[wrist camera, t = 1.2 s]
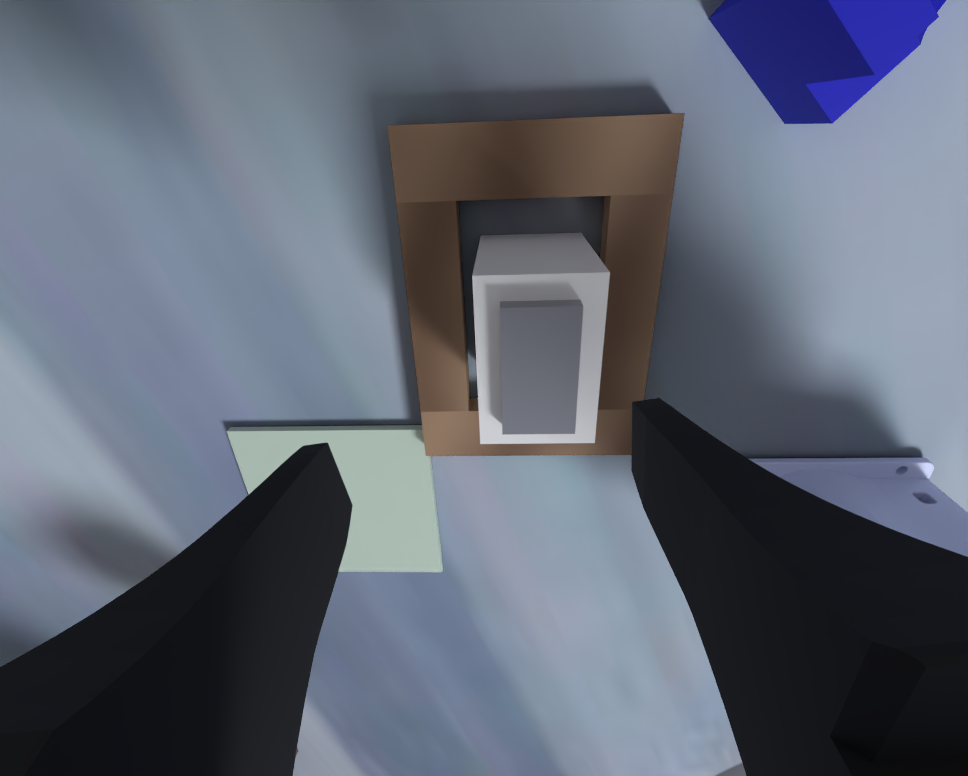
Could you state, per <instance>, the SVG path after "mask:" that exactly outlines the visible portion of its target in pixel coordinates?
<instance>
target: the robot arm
mask: <svg viewBox="0 0 968 776" xmlns="http://www.w3.org/2000/svg"><path fill="white" fill-rule="evenodd" d="M899 467H900V468H899ZM933 470H934V464H933V463H932V462H930V461H929V460H928V459H926V458H781V459H748V458H746V457H744V456H743V455H741V454H739V453H738V452H736V451H735V450H733V449H732V448H730V447H728V446H727V445H725V444H724V443H722V442H721V441H719V440H718V439H716V438H715V437H713V436H712V435H710V434H709V433H708V432H706V431H705V430H703V429H702V428H700V427H699V426H698V425H696V424H695V423H693V422H692V421H691V420H689V419H688V418H686V417H685V416H684V415H682V414H681V413H679V412H678V411H677V410H675V409H674V408H673V407H671V406H670V405H668V404H667V403H665V402H664V401H663V400H661V399H660V398H657V399H649V400H642V401H634V402H632V473H633V476H634V480H635V483H636V486H637V489H638V492H639V495H640V498H641V501H642V504H643V507H644V510H645V512H646V514H647V517H648V519H649V521H650V523H651V525H652V527H653V529H654V532H655V534H656V536H657V538H658V540H659V542H660V544H661V547H662V549H663V551H664V553H665V555H666V557H667V559H668V561H669V563H670V566H671V568H672V570H673V572H674V574H675V576H676V578H677V580H678V583H679V585H680V587H681V589H682V591H683V593H684V595H685V598H686V600H687V603H688V605H689V607H690V610H691V612H692V614H693V617H694V620H695V623H696V626H697V628H698V631H699V634H700V637H701V640H702V642H703V645H704V648H705V651H706V654H707V656H708V659H709V662H710V665H711V668H712V671H713V674H714V677H715V680H716V683H717V686H718V689H719V692H720V695H721V698H722V700H723V703H724V706H725V709H726V712H727V716H728V719H729V722H730V725H731V728H732V731H733V734H734V737H735V741H736V744H737V747H738V750H739V753H740V756H741V759H742V762H743V766H744V769H745V771H746V775H747V776H968V512H966V511H965V510H964V509H963V508H962V507H960V506H959V505H958V504H957V503H956V502H954V501H953V500H952V499H951V498H950V497H948V496H947V495H946V494H945V493H944V492H942V491H941V490H940V489H939V488H938V487H936V486H935V485H934V484H933V483H932V482H930V481H929V480H928V479H929V478H930V476H931V474H932V472H933ZM352 506H353V505H352V502H351V500H350V497H349V495H348V492H347V490H346V487H345V485H344V482H343V480H342V477H341V475H340V472H339V470H338V467H337V464H336V462H335V459H334V457H333V454H332V452H331V449H330V447H329V444H328V442H327V443H319V444H312V445H304V446H302V447H301V448H300V449H298V450H297V451H296V452H295V453H294V454H292V455H291V456H290V457H289V458H288V459H287V460H286V461H285V462H283V463H282V464H281V465H280V466H279V467H278V468H277V469H276V470H275V471H274V472H273V473H272V474H271V475H270V476H268V477H267V478H266V479H265V480H264V481H263V482H262V483H261V484H260V485H259V486H258V487H257V488H255V489H254V490H253V491H252V492H251V493H250V494H249V495H248V496H247V497H246V498H245V499H244V500H243V501H241V502H240V503H239V504H238V505H237V506H236V507H235V508H234V509H232V510H231V511H230V512H229V513H228V514H227V515H225V516H224V517H223V518H222V519H221V520H220V521H218V522H217V523H216V524H215V525H214V526H213V527H211V528H210V529H209V530H208V531H207V532H206V533H204V534H203V535H202V536H201V537H200V538H199V539H197V540H196V541H195V542H194V543H192V544H191V545H190V546H189V547H187V548H186V549H185V550H184V551H182V552H181V553H180V554H178V555H177V556H176V557H174V558H173V559H172V560H170V561H169V562H168V563H166V564H165V565H164V566H162V567H161V568H160V569H158V570H157V571H155V572H154V573H153V574H151V575H150V576H149V577H147V578H146V579H144V580H143V581H141V582H140V583H138V584H137V585H135V586H134V587H132V588H131V589H129V590H128V591H126V592H125V593H123V594H122V595H120V596H119V597H117V598H116V599H114V600H113V601H111V602H110V603H108V604H107V605H105V606H104V607H102V608H101V609H99V610H98V611H96V612H95V613H93V614H91V615H90V616H88V617H87V618H85V619H83V620H82V621H80V622H78V623H77V624H75V625H73V626H72V627H70V628H68V629H67V630H65V631H63V632H62V633H60V634H58V635H57V636H55V637H53V638H52V639H50V640H48V641H46V642H45V643H43V644H41V645H39V646H38V647H36V648H34V649H32V650H31V651H29V652H27V653H25V654H24V655H22V656H20V657H18V658H16V659H14V660H13V661H11V662H9V663H7V664H5V665H3V666H2V667H0V776H293V769H294V762H295V755H296V748H297V743H298V737H299V731H300V725H301V720H302V714H303V708H304V702H305V697H306V692H307V687H308V682H309V677H310V672H311V667H312V662H313V657H314V652H315V649H316V645H317V641H318V637H319V633H320V630H321V627H322V623H323V620H324V617H325V614H326V610H327V607H328V604H329V601H330V597H331V594H332V591H333V588H334V584H335V581H336V578H337V575H338V571H339V568H340V564H341V561H342V558H343V554H344V551H345V547H346V544H347V538H348V533H349V527H350V520H351V513H352Z"/></svg>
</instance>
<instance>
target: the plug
mask: <svg viewBox="0 0 968 776" xmlns="http://www.w3.org/2000/svg"><path fill="white" fill-rule="evenodd" d="M609 278H610V272H609V270H608V269H607V267H606V266H605V265H604V263H603V262H602V261H601V259H600V258H599V256H598V255H597V254H596V252H595V251H594V250H593V248H592V247H591V246H590V244H589V243H588V241H587V240H586V239H585V237H584V236H583V235H582V233H552V234H517V235H483V236H481V237H480V242H479V246H478V251H477V256H476V260H475V265H474V270H473V274H472V282H473V303H474V324H475V345H476V366H477V387H478V408H479V429H480V444H547V443H595V434H596V423H597V412H598V401H599V389H600V378H601V367H602V356H603V345H604V334H605V323H606V312H607V300H608V289H609Z"/></svg>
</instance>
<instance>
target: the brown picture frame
mask: <svg viewBox="0 0 968 776" xmlns="http://www.w3.org/2000/svg"><path fill="white" fill-rule="evenodd" d="M683 121H684V113H674V114H651V115H627V116H603V117H579V118H555V119H531V120H507V121H483V122H459V123H435V124H411V125H387V127H388V136H389V144H390V153H391V161H392V170H393V179H394V187H395V196H396V204H397V213H398V222H399V230H400V239H401V248H402V256H403V265H404V273H405V282H406V291H407V299H408V308H409V316H410V325H411V334H412V342H413V351H414V359H415V368H416V377H417V385H418V394H419V402H420V411H421V420H422V428H423V437H424V445H425V454H426V456H511V455H632V402H634V401H642V400H644V395H645V388H646V381H647V374H648V367H649V360H650V353H651V346H652V339H653V332H654V325H655V318H656V311H657V304H658V297H659V290H660V283H661V276H662V269H663V261H664V254H665V247H666V240H667V233H668V226H669V219H670V212H671V205H672V198H673V191H674V184H675V177H676V170H677V163H678V156H679V149H680V142H681V135H682V128H683ZM586 196H604V208H603V220H602V233H601V246H600V259H601V261H602V262H603V263H604V265H605V266H606V267H607V269H608V270H609V272H610V278H609V289H608V300H607V312H606V323H605V334H604V345H603V356H602V367H601V378H600V389H599V401H598V412H597V423H596V434H595V443H547V444H480V429H479V408H478V398H470V386H469V369H468V351H467V334H466V317H465V299H464V282H463V264H462V247H461V230H460V212H459V201H467V200H497V199H527V198H557V197H586Z"/></svg>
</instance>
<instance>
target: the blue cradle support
mask: <svg viewBox="0 0 968 776" xmlns="http://www.w3.org/2000/svg"><path fill="white" fill-rule="evenodd" d="M945 1H946V0H725V1H724V2H723V3H722V5H721V6H720V7H719V8H718V9H717V10H716V11H715V12H714V13H713V14H712V15H711V17H710V18H709V20H710V21H711V23H712V24H713V25H714V27H715V28H716V30H717V31H718V32H719V34H720V35H721V36H722V38H723V39H724V41H725V42H726V43H727V45H728V46H729V48H730V49H731V50H732V52H733V53H734V54H735V56H736V57H737V59H738V60H739V61H740V63H741V64H742V65H743V67H744V68H745V70H746V71H747V72H748V74H749V75H750V77H751V78H752V79H753V81H754V82H755V83H756V85H757V86H758V88H759V89H760V90H761V92H762V93H763V94H764V96H765V97H766V99H767V100H768V101H769V103H770V104H771V106H772V107H773V108H774V110H775V111H776V112H777V114H778V115H779V117H780V118H781V119H782V121H783V122H784V123H785V124H814V123H833V122H834V121H836V120H837V119H838V118H839V117H840V116H841V115H842V114H843V113H845V112H846V111H847V110H848V109H849V108H850V107H851V106H852V105H853V104H855V103H856V102H857V101H858V100H859V99H860V98H861V97H862V96H863V95H865V94H866V93H867V92H868V91H869V90H870V89H871V88H872V87H873V86H875V85H876V84H877V83H878V82H879V81H880V80H881V79H882V78H883V77H885V76H886V75H887V74H888V73H889V72H890V71H891V70H892V69H894V68H895V67H896V66H897V65H898V64H899V63H900V62H901V61H902V60H904V59H905V58H906V57H907V56H908V55H909V54H910V53H911V52H912V51H914V50H915V49H916V48H917V47H918V46H919V45H920V44H921V41H922V38H923V36H924V33H925V31H926V29H927V27H928V26H929V25H930V24H931V23H932V22H934V21H935V20H936V19H937V18H938V17H939V16H938V14H937V12H938V10H939V9H940V8H941V6H942V5H943V4H944V3H945Z"/></svg>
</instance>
